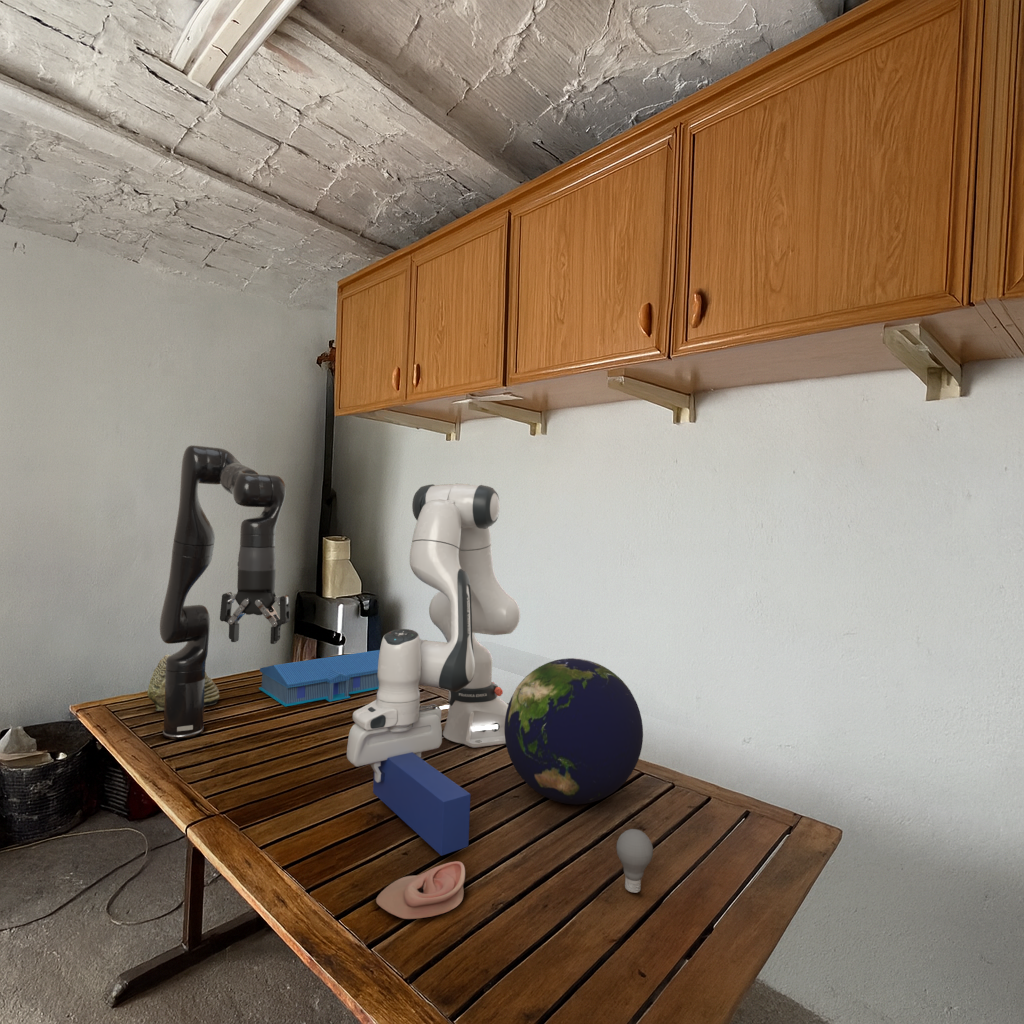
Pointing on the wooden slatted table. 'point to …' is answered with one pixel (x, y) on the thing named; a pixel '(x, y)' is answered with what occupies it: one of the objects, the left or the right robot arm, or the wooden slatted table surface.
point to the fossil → (158, 687)
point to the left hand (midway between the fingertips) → (254, 642)
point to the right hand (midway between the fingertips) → (395, 777)
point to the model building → (321, 678)
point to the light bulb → (634, 857)
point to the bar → (426, 801)
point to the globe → (573, 731)
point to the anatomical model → (425, 892)
